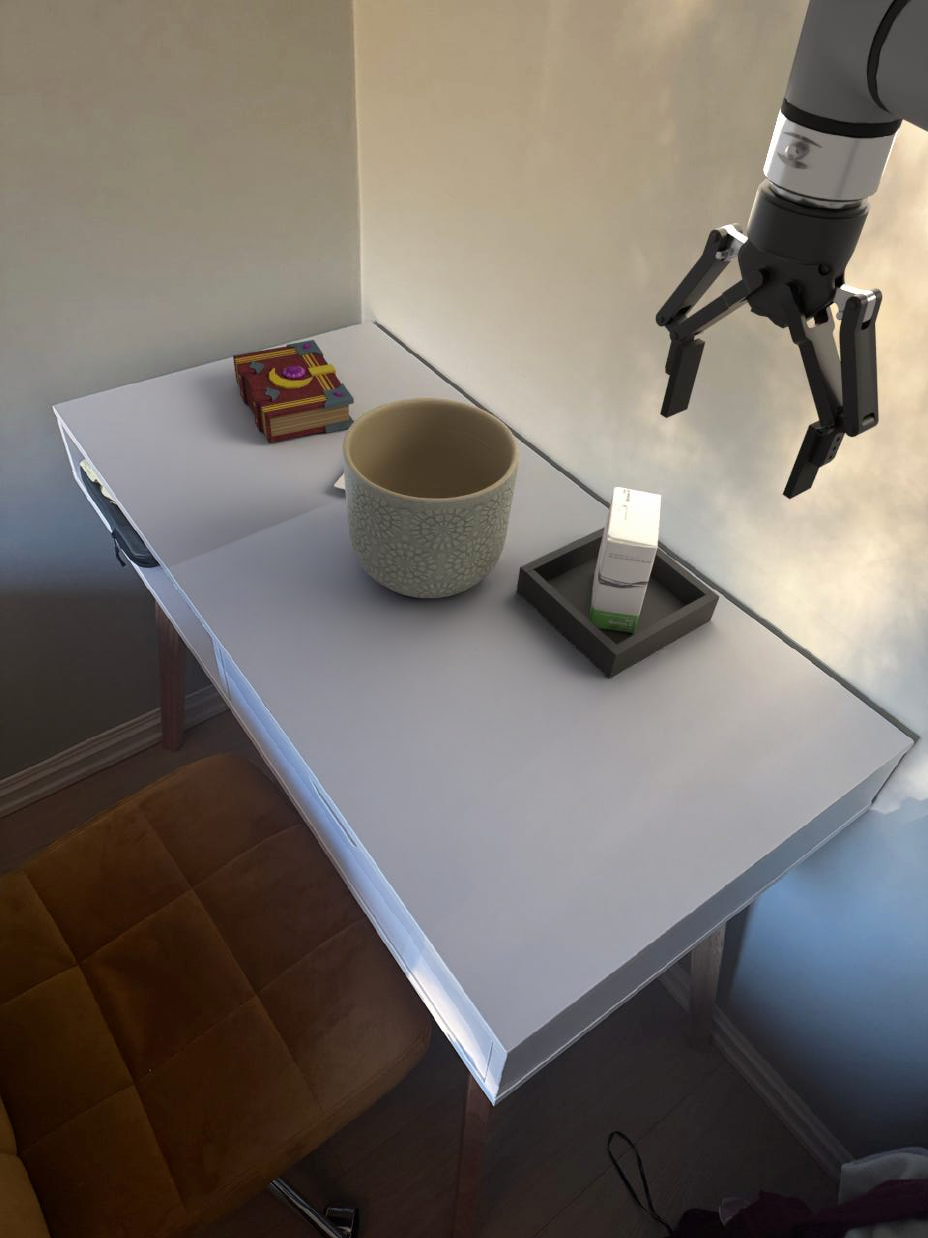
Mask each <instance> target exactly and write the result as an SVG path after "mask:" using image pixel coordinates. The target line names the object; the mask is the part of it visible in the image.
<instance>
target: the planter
mask: <svg viewBox="0 0 928 1238" xmlns="http://www.w3.org/2000/svg"><path fill="white" fill-rule="evenodd" d="M519 459H520V449H519V444H518V441H517V439H516V437H515V434H514V433H513V432H512V431H511V429H510V428H509V427H508V426H507V425H506V424H505V423H504V422H503V421H502V420H500V419H499V418H498V417H496V416H495V415H493V414H491V413H489V412H488V411H486V410H484V409H482V408H480V407H478V406H474V405H472V404H469V403H466V402H462V401H458V400H453V399H448V398H439V397H438V398H437V397H414V398H404V399H399V400H394V401H390V402H386V403H384V404H381V405H378V406H376V407H373V408H372V409H370V410H368V411H367V412H365V413H363V414H361V415H360V416H359V417H357V418H356V419H355V421H354V423H353V424H352V425H351V426H350V427H349V428H347V430H346V431H345V435H344V437H343V441H342V465H343V466H342V467H343V474H344V480H345V490H344V491H345V497H346V498H345V500H346V512H347V524H348V531H349V537H350V544H351V547H352V550H353V553H354V555H355V557H356V559H357V561H358V563H359V565H360V566H361V568H362V569H363V570H364V571H365V572H366V573H367V575H368V576H370V577H371V578H372V579H373V580H374V581H375V582H377V583H378V584H379V585H381V586H383V587H384V588H387V589H388V590H391V591H393V592H395V593H397V594H400V595H404V596H407V597H412V598H418V599H439V598H446V597H451V596H455V595H457V594H461V593H463V592H465V591H467V590H469V589H471V588H473V587H475V586H477V585H478V584H479V583H481V582H482V581H483V579H485V578H486V577H487V576H489V574H490V573H491V572H492V570H493V569H494V568H495V566H496V565H497V562H498V561H499V559H500V557H501V554H502V552H503V549H504V546H505V542H506V539H507V534H508V528H509V521H510V516H511V511H512V510H511V509H512V505H513V499H514V493H515V487H516V482H517V474H518V468H519V461H520V460H519Z"/></svg>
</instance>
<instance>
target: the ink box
mask: <svg viewBox="0 0 928 1238" xmlns="http://www.w3.org/2000/svg"><path fill="white" fill-rule="evenodd" d="M661 504H662V495H661V494H658V493H651V492H649V491H648V492H646V491H642V490H641V491H640V490H635V489H630V488H625V487H618V486H617V487H613V489H612V494H611V498H610V504H609V507H608V512H607V517H606V519H605V520H606V521H605V525H604V527H605V529H604V533H603V537H602V542H601V546H600V551H599V555H598V560H597V564H596V569H595V573H594V579H593V588H592V597H591V606H590V615H589V620H590V621H591V622H592V623H593V624H594V625H595V626H596V627H597V628H602V629H608V630H614V631H621V632H628V633H634V631H635V628H636V624H637V621H638V617H639V614H640V610H641V607H642V603H643V599H644V595H645V592H646V588H647V584H648V581H649V577H650V573H651V570H652V566H653V562H654V558H655V555H656V551H657V547H658V548H659V545H658V544H659V535H660V534H659V533H660V518H661V506H662V505H661Z"/></svg>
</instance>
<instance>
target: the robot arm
mask: <svg viewBox="0 0 928 1238" xmlns="http://www.w3.org/2000/svg"><path fill="white" fill-rule="evenodd" d="M802 24H803V25H802V27H801V32H800V35H799V39H798V41H797V42H798V43H797V46H796V50H795V54H794V57H793V60H792V61H793V62H792V65H791V68H790V72H789V75H788V79H787V83H786V87H785V89H784V94H783V99H782V102H781V107H780V109H779V113H778V116H777V120H776V123H775V124H776V125H775V127H774V131H773V135H772V139H771V141H770V145H769V149H768V152H767V156H766V159H765V163H764V166H763V174H764V175H765V176H766V178H765V179H764V180H763V181H762V182H760V183H759V184H758V187H757V190H756V194H755V197H754V202H753V204H752V208H751V212H750V216H749V218H748V222H747V226H746V235H747V236H745V235H744V234H743V231H744V229H743V227H742V225H741V224H740V223H738V222H735V223H734V222H733V223H730V224H728V225H724V226H721V227H718V228H714V229H712V230H711V231H710V232H709V234H708V236H707V240H706V242H705V246H704V248H703V251H702V254H701V255H700V257H699V258H698V260H697V261H696V262H695V263H694V265H693V266H692V267H691V269H690V270H689V271H688V272H687V274H686V275H685V276H684V278H683V279H682V280H681V281H680V283H679V284H678V285H677V287H676V288H675V289H674V291H673V292H672V293H671V295H670V296H669V297H668V298H667V300H666V301H665V303H663V305H662V306H661V307H660V309H659V310H658V311H657V313H656V315H655V322H656V324H657V325H658V327H660V328H661V327H665V329H666V330H667V331H668V332H669V333H668V334H669V339H670V345H669V348H668V353H667V357H666V361H665V365H664V372H665V374H666V375H668V380H667V385H666V389H665V393H664V397H663V401H662V405H661V408H660V412H659V414H660V416H662V417H664V418H665V419H668V418H670V417H672V416H675V415H677V414H680V413H682V412H684V411H687V410H688V409H689V406H690V401H691V399H692V398H691V397H692V393H693V389H694V386H695V383H696V379H697V375H698V371H699V367H700V364H701V360H702V356H703V353H704V349H705V345H706V341H705V340H703V339H701V338H699V337H698V338H695V337H696V336H699V335H702V334H704V331H706V330H707V329H709V328H711V327H712V326H714V325H715V324H717V323H718V322H720V321H722V320H723V319H724V318H726V317H728V316H729V315H731V314H732V313H734V312H735V311H737V310H738V309H740V308H742V307H743V306H744V305H746V304H748V305H749V307H750V312H751V313H752V314H754V315H756V316H759V317H764V318H768V319H769V320H770V321H771V322H772V323H773V324H774V325H775V326H777V327H779V328H781V329H786V328H787V329H788V331H789V335H790V338H791V341H792V343H793V344H794V345H796V346H797V347H798V349H799V353H800V357H801V360H802V364H803V367H804V372H805V374H806V378H807V381H808V386H809V389H810V392H811V396H812V400H813V403H814V406H815V412H816V414H817V418H818V420H817V421H814V422H812V423H810V424H809V425H808V426H807V430H806V432H805V434H804V436H803V440H802V442H801V445H800V447H799V450H798V452H797V455H796V458H795V460H794V463H793V465H792V468H791V471H790V474H789V476H788V478H787V481H786V484H785V487H784V489H783V492H782V496H784V497H785V498H787V499H788V500H791V499H793V498H795V497H798V496H800V495H801V494H803V493H805V492H806V491H809V490H811V489H812V487H813V484H814V482H815V480H816V477H817V475H818V472H819V469H820V468H822V467H824V466H826V465H827V464H830V463H831V462H833V461H834V460H835V458H836V456H837V454H838V451H839V449H840V447H841V444H842V442H843V440H844V437H845V435H846V436H848V437H849V438H854V437H857V436H860V435H861V434H863V433H865V432H868V431H870V430H871V429H873V428H875V427H876V426H877V425H878V424H879V420H880V418H879V413H880V412H879V390H878V389H879V388H878V361H877V358H878V357H877V334H876V323H877V318H878V315H879V312H880V310H881V309H880V307H881V305H882V301H883V293H882V291H881V289H879V288H878V287H872V288H870V289H866V290H862V289H858V288H856V287H853V286H850V285H848V284H846V280H845V279H846V278H845V275H846V268H847V266H848V264H849V262H850V260H851V258H852V256H853V255H854V253H855V250H856V248H857V246H858V243H859V240H860V237H861V234H862V231H863V230H864V226H865V223H866V221H867V219H868V216H869V212H870V210H871V203H870V200H869V198H871V197H872V196H873V195H875V194H876V193H877V192H878V189H879V186H880V183H881V180H882V177H883V175H884V173H885V170H886V166H887V164H888V161H889V158H890V156H891V153H892V150H893V147H894V144H895V141H896V138H897V135H898V133H899V129H900V128H901V126H902V123H903V121H905V122H907V123H909V124H911V125H913V126H915V127H917V128H919V129H921V130H924V131H926V132H927V133H928V0H809V1H808V5H807V9H806V11H805V16H804V20H803V23H802ZM735 259H737V262H738V268H739V271H740V276H741V279H740V280H739V281H738V282H736V283H734V284H733V285H732V286H730V287H729V288H727V289H726V290H724V291H723V292H721V295H720V296H717V297H716V298H715V299H713V300H711V301H710V302H709V303H707V304H706V305H705V306H703V307H702V308H701V309H699V310H697V311H696V312H694V313H693V314H692V315H690V316H688V314H689V313H690V312H691V311H692V310H693V308H694V307H695V306H696V305H697V304H698V303H699V302H700V300H701V298H702V297H703V296H704V295H705V294H706V293H707V291H708V290H709V289H710V288H711V287H712V285H713V284H714V283H715V281H716V280H717V279H718V278H719V276H720V275H721V274H723V272H724V270H726V268H727V267H728V266H729V264H730V263H731V262H732V261H733V260H735ZM833 304H835V305H836V306H837V308H838V311H837V312H836V314H835V317H836V319H837V320H838V321H840V325H839V333H838V343H839V352H838V346H837V344H836V341H835V336H834V331H835V328H836V324H835V319H834V315H833V312H832V308H831V306H832V305H833ZM812 319H813V321H814V324H813V326H811V327H809V324H808V322H809V321H810V320H812Z"/></svg>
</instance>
